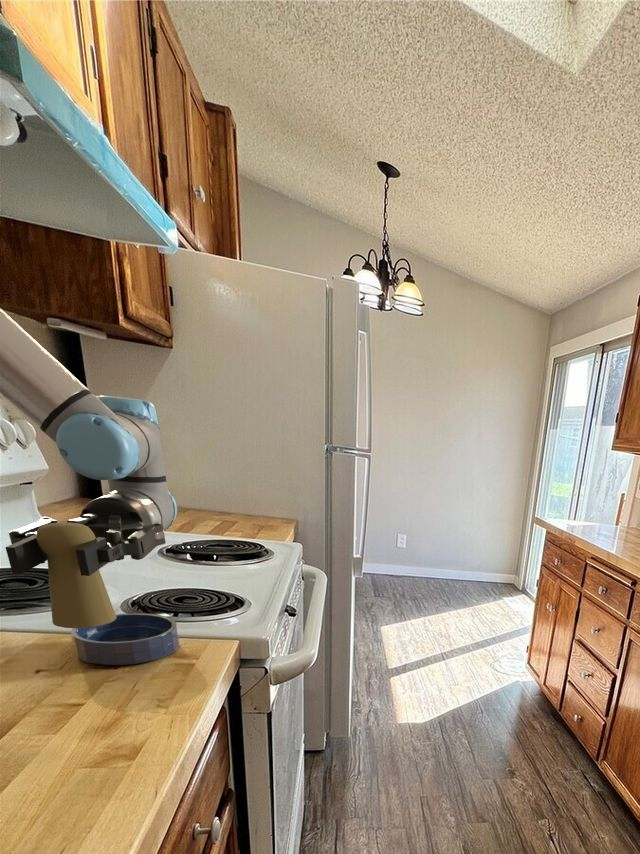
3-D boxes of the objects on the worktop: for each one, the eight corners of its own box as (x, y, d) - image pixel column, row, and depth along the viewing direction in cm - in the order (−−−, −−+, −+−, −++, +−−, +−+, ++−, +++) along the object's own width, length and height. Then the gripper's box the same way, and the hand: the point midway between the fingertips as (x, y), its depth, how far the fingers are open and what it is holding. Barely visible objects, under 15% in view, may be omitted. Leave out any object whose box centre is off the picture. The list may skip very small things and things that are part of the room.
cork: (39, 621, 63) (13, 522, 58) (92, 608, 68) (72, 516, 64) (77, 632, 61) (53, 531, 57) (128, 618, 67) (110, 525, 62)
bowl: (57, 666, 72) (51, 641, 71) (102, 633, 83) (98, 611, 82) (161, 668, 75) (156, 644, 73) (191, 637, 86) (188, 615, 84)
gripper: (199, 551, 81) (155, 598, 61) (50, 545, 76) (-51, 595, 56) (192, 498, 78) (144, 529, 58) (36, 488, 73) (-77, 519, 53)
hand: (48, 561), depth 57 cm, fingers closed on cork, 5 cm apart
